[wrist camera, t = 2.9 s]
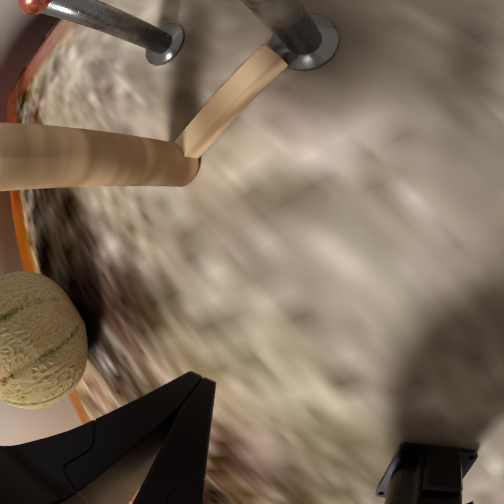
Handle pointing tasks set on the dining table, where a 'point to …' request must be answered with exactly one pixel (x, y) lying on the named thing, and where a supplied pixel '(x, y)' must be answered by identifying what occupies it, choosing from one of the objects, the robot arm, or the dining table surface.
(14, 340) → the cantaloupe
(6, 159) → the gate
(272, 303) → the dining table surface
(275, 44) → the post
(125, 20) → the post
